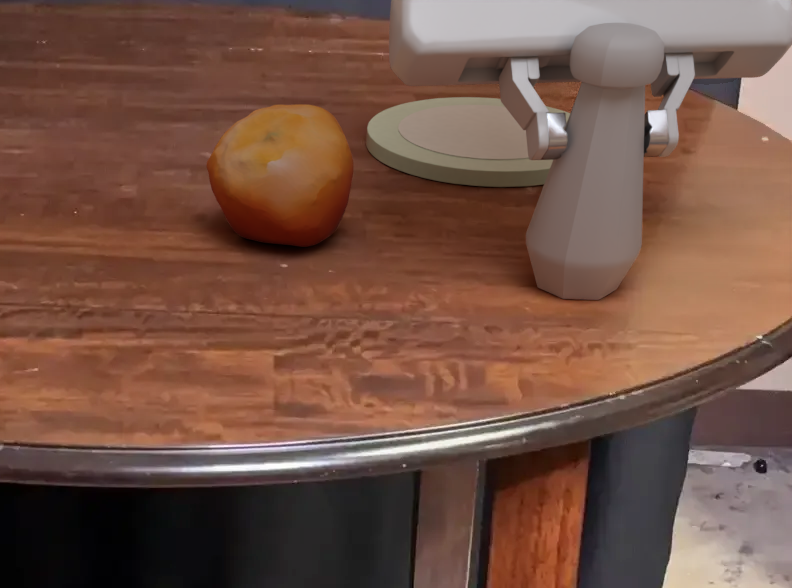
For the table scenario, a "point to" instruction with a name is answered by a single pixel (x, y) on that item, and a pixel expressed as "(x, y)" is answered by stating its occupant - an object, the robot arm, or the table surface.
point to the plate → (456, 142)
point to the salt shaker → (597, 167)
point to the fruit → (283, 175)
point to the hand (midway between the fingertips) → (603, 153)
